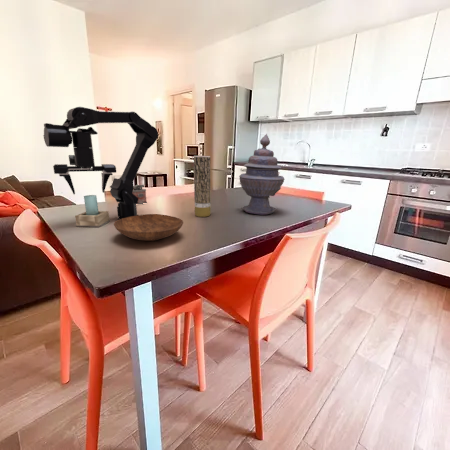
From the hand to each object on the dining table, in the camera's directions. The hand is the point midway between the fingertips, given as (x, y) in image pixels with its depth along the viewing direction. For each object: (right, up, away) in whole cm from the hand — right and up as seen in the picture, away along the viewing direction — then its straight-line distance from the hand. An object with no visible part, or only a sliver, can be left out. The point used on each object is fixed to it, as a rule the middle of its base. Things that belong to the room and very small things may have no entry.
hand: (89, 193), depth 87 cm
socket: (0, -11, +3) cm, 11 cm away
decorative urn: (+65, -5, +27) cm, 71 cm away
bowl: (+25, -15, -9) cm, 31 cm away
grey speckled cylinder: (+39, -7, +19) cm, 44 cm away
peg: (0, -10, +3) cm, 11 cm away
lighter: (+4, -1, +40) cm, 40 cm away
